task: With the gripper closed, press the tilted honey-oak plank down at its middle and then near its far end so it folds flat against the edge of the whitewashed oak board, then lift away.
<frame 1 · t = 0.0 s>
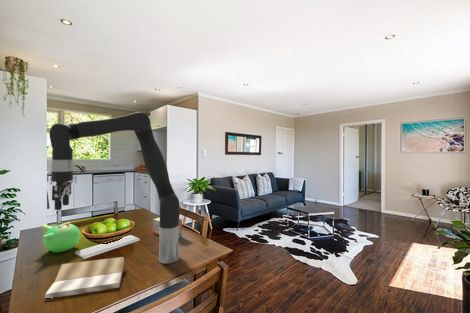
hand: (62, 207, 98), 29 cm above the table, tool pointing down, fingers open, 8 cm apart
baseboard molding: (110, 248, 127), on the table
stack of blocks: (166, 235, 147), on the table
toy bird: (60, 250, 121), on the table
whitewashed oak board: (86, 287, 89), on the table
honey oak plank: (92, 269, 97), point 3 cm above the table, hinge at 25.0°
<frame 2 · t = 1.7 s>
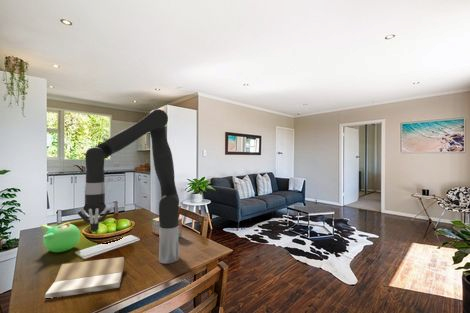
hand: (94, 231, 100), 19 cm above the table, tool pointing down, fingers closed
nothing on the table moved.
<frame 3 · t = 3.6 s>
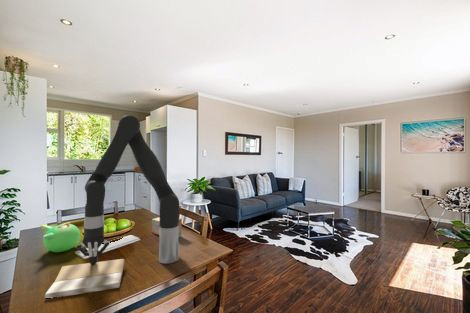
hand: (93, 263, 99), 4 cm above the table, tool pointing down, fingers closed
honey oak plank: (92, 270, 97), point 2 cm above the table, hinge at 16.6°, touching gripper
everything else where it was.
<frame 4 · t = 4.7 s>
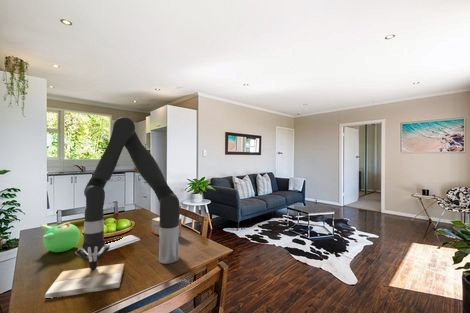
hand: (93, 268, 99), 2 cm above the table, tool pointing down, fingers closed
honey oak plank: (92, 273, 97), point 1 cm above the table, hinge at -0.6°
everything else where it was.
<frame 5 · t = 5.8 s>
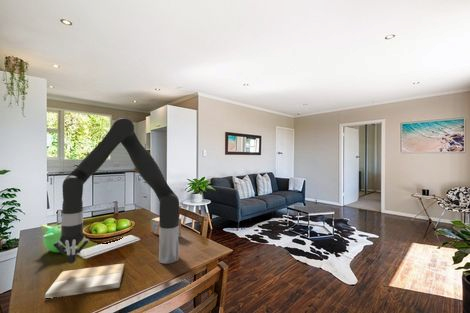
hand: (71, 262, 96), 6 cm above the table, tool pointing down, fingers closed
nothing on the table moved.
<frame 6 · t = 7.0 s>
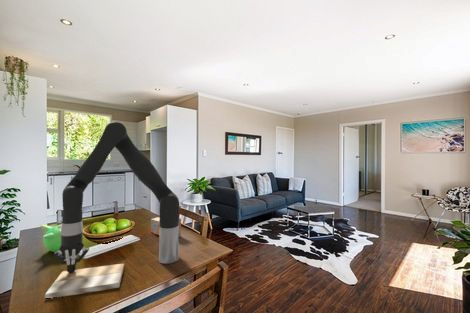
hand: (71, 272, 96), 2 cm above the table, tool pointing down, fingers closed
honey oak plank: (92, 273, 97), point 1 cm above the table, hinge at -0.6°, touching gripper
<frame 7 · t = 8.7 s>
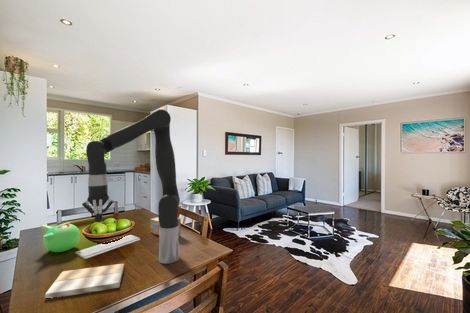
hand: (98, 221, 104), 22 cm above the table, tool pointing down, fingers closed
honey oak plank: (92, 273, 97), point 1 cm above the table, hinge at -0.6°
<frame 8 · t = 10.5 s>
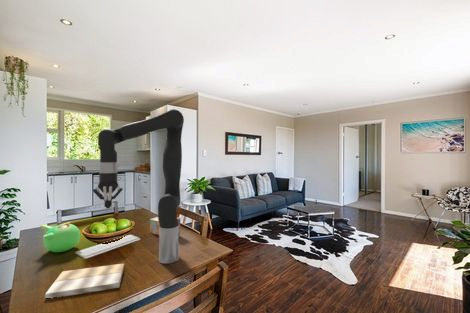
hand: (108, 207, 107), 27 cm above the table, tool pointing down, fingers closed
at the end: honey oak plank at -1° (first picture: +25°) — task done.
